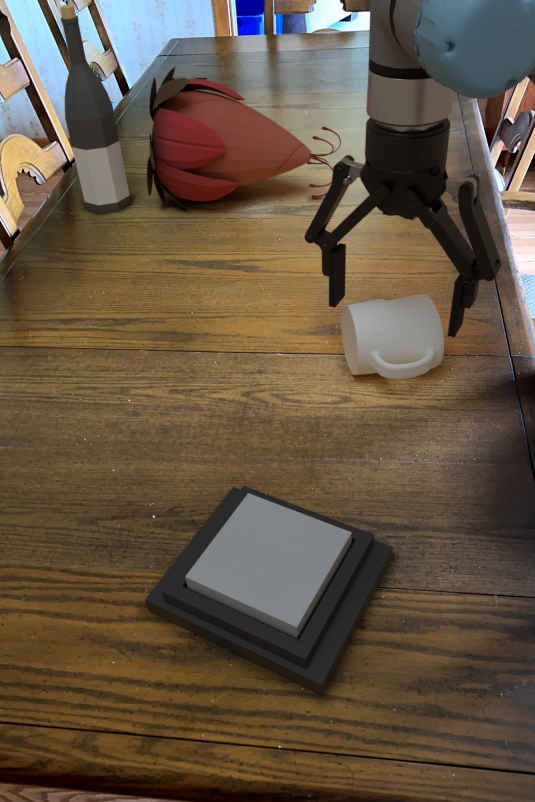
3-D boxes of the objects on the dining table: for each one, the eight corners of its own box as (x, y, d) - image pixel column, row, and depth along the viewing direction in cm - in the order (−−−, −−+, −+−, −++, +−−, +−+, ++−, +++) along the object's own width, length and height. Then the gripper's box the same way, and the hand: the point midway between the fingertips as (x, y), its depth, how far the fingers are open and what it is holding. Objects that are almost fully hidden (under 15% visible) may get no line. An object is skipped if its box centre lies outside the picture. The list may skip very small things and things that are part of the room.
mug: (339, 345, 87) (339, 287, 81) (414, 334, 87) (419, 277, 82) (364, 408, 77) (366, 348, 72) (448, 396, 78) (456, 335, 73)
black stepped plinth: (392, 558, 62) (394, 536, 60) (322, 695, 53) (321, 674, 51) (234, 497, 68) (231, 475, 67) (147, 610, 59) (141, 589, 57)
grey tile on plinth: (351, 544, 60) (351, 532, 59) (297, 638, 54) (296, 627, 53) (249, 504, 64) (248, 492, 63) (187, 588, 58) (185, 576, 57)
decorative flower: (154, 227, 124) (326, 249, 121) (123, 144, 102) (333, 169, 99) (179, 121, 130) (344, 140, 127) (155, 20, 108) (353, 41, 105)
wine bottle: (123, 214, 118) (83, 11, 99) (77, 213, 119) (28, 13, 100) (138, 193, 124) (103, -1, 105) (94, 193, 125) (51, 0, 106)
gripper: (561, 120, 62) (518, 324, 75) (303, 89, 72) (306, 274, 85) (541, 151, 57) (499, 363, 70) (266, 114, 67) (276, 306, 80)
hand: (393, 315), depth 78 cm, fingers open, 13 cm apart
